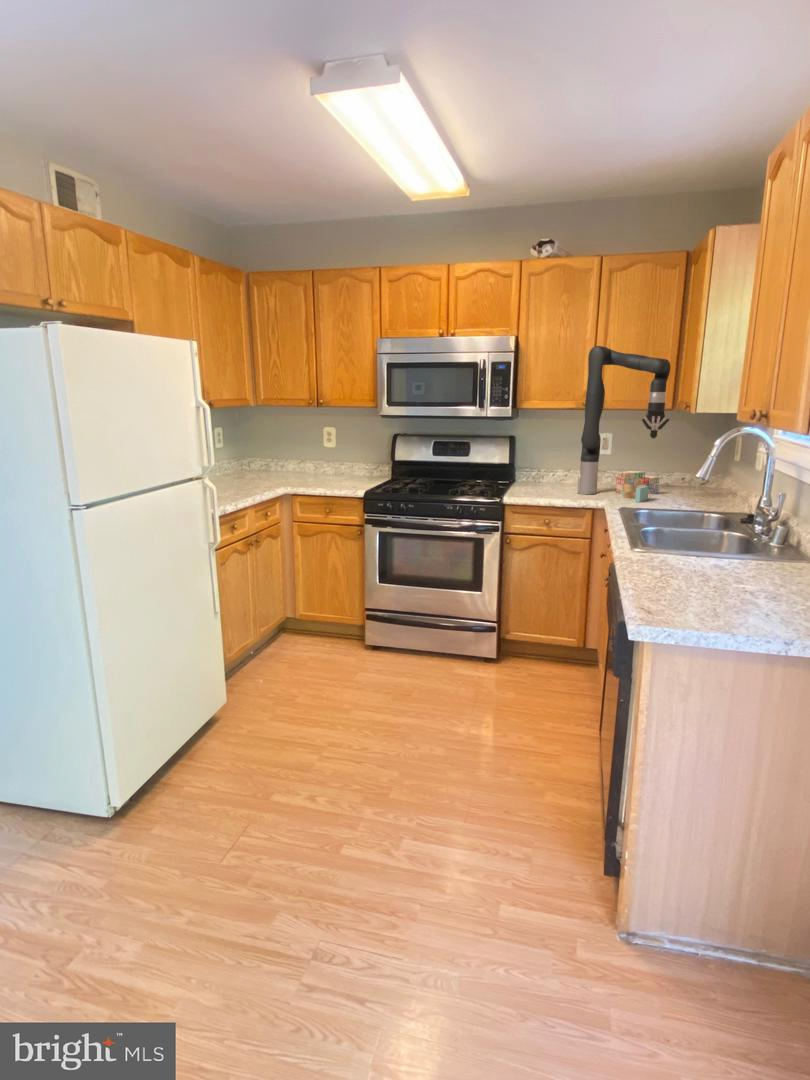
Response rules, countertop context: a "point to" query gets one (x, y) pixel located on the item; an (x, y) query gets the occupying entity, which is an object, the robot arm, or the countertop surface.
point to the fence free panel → (641, 494)
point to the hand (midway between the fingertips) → (653, 438)
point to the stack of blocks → (637, 481)
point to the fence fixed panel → (631, 490)
